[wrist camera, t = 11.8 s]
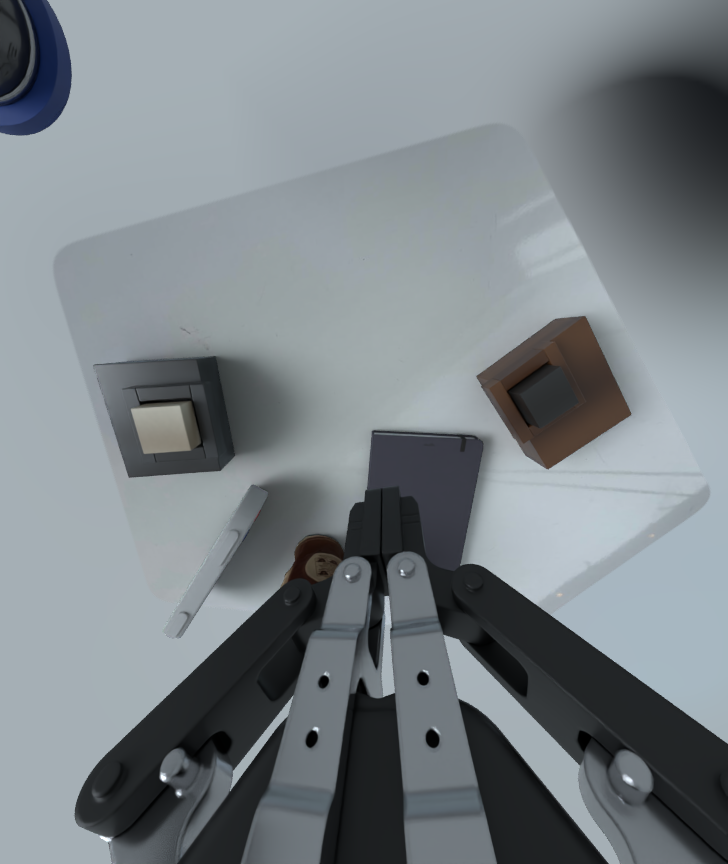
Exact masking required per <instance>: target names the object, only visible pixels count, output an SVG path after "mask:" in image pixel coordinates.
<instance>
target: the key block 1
mask: <svg viewBox="0 0 728 864" xmlns="http://www.w3.org/2000/svg"><path fill="white" fill-rule="evenodd" d="M93 366H94V369H95V372H96V375H97V379H98V382H99V385H100V388H101V391H102V394H103V397H104V401H105V404H106V407H107V410H108V413H109V416H110V420H111V423H112V426H113V429H114V432H115V435H116V438H117V442H118V445H119V448H120V451H121V454H122V457H123V461H124V464H125V467H126V470H127V473H128V476H129V478H130V477H143V476H156V475H170V474H183V473H196V472H210V471H221V470H222V469H223V468H224V467H225V466H226V464H227V463H228V462H229V461H230V460H231V459H232V458H233V457H234V456H235V453H234V448H233V443H232V438H231V433H230V427H229V422H228V417H227V412H226V407H225V402H224V397H223V392H222V387H221V382H220V377H219V372H218V366H217V361H216V357H215V356H211V357H194V358H177V359H160V360H144V361H127V362H116V363H107V364H97V365H93ZM179 401H192V403H193V408H194V412H195V416H196V421H197V425H198V430H199V434H200V438H201V444H199V445H198V446H197V447H195V448H194V449H192V450H191V451H178V452H165V453H151V454H144V453H143V449H142V446H141V443H140V439H139V436H138V432H137V429H136V426H135V422H134V419H133V415H132V412H131V408H134V407H137V406H141V405H144V404H149V403H164V402H179Z"/></svg>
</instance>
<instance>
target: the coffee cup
mask: <svg viewBox="0 0 728 864" xmlns="http://www.w3.org/2000/svg"><path fill="white" fill-rule="evenodd" d="M294 555H295V562H294V564H293V566H292V567H291V568H290V570H289V571H288V572H286V574H285V579H284V581H283V583H282V585H281V587H282V586H283V585H284V584H285V583H287V582H289V581H291V580H293V579H297V578H302V579H306V580H307V581H309V582H310V584H311V585H313V584H315V583H318V582H320V581H323V580H325V579H327V578H329V577H331V576H332V575H333V574H334V571H335V569H336V567H337V566H338V565H339V564H340V563H341V562H342V561H343V557H344V551H343V549H342V547H341V545H340V544H339V543H338V542H337V541H336V540H334V539H332V538H330V537H327V536H321V535H314V536H307V537H305V538H304V539H303V540H302V541H301V542H299V543H298V546H296V549H295V554H294ZM281 587H280V588H281Z"/></svg>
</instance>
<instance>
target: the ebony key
mask: <svg viewBox="0 0 728 864" xmlns="http://www.w3.org/2000/svg"><path fill="white" fill-rule="evenodd" d="M509 393H510V395H511V396H512V398H513V400H514V401H515V403H516V405H517V406H518V408H519V410H520V411H521V413H522V415H523V416H524V418H525V420H526V421H527V423H529V424H531V425H533V426H535V427H537V428H540V429H541V428H542V427H544V426H545V425H547V424H548V423H550V422H551V421H553V420H554V419H556V418H557V417H559V416H560V415H562V414H563V413H565V412H566V411H567V410H569V409H570V408H572V407H573V406H575V405H576V404H578V403H579V401H578V399H577V397H576V395H575V393H574V391H573V390H572V388H571V386H570V384H569V382H568V380H567V378H566V376H565V374H564V372H563V371H562V369H561V367H560V366H553V365H544V366H543V367H541V368H540V369H538V370H537V371H535V372H534V373H533V374H531V375H530V376H528V377H527V378H526V379H524V380H523V381H521V382H520V383H519V384H517V385H516V386H514V387H513V388H512V389H510V390H509Z"/></svg>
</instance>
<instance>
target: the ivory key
mask: <svg viewBox="0 0 728 864" xmlns="http://www.w3.org/2000/svg"><path fill="white" fill-rule="evenodd" d="M131 412H132V415H133V419H134V422H135V426H136V429H137V432H138V436H139V439H140V443H141V446H142V449H143V453H144V454H151V453H165V452H178V451H191V450H192V449H194V448H195V447H197V446H198V445H199V444H201V438H200V434H199V430H198V425H197V421H196V416H195V412H194V408H193V403H192V401H179V402H164V403H149V404H144V405H141V406H137V407H134V408H131Z"/></svg>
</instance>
